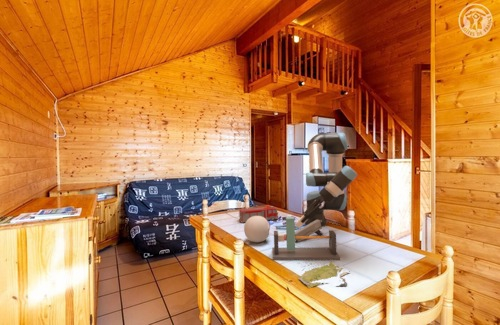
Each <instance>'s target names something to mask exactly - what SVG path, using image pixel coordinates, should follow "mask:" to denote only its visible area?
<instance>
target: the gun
mask: <svg viewBox="0 0 500 325" xmlns="http://www.w3.org/2000/svg"><path fill="white" fill-rule="evenodd" d="M324 227H325V226H324V220H323V219H320V220H318V219H317V220H315V221H313V222H312V223H310V224H308V225H305V226H302V227H300V228H298V229H297V230H295V236H312V235H313V234H316V236H324V235H323V234H324V233H323V232H321V230H322V229H323V228H324ZM303 240H304V239H295V243H300V242H302V241H303Z"/></svg>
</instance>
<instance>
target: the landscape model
mask: <svg viewBox="0 0 500 325" xmlns="http://www.w3.org/2000/svg"><path fill="white" fill-rule="evenodd" d="M343 270H344V267H339V266H338V265H336V264H335V263H334V262H332V261H330V262H329V264H326V265H322V266H318V267H314V268H312V269H309V270H307V271H304V272H303V274H301V275H300V276H298V280H300V281H301V282H302V283H303V284H304V285H306V287H307V289H311V287H312V288H314V287H315V286H320V285H324V284H326V282H325V281H323V282H315V281H320V280H321V281H322V280H328V279H331V278H335V277H336V278H337V277H338V273H340V274H339V279H341V280H342V282H343V283H341V282H340V284H339V285H336V287H347V286H348V282H346V278H343V277H342V276H345V275H347V274H350V273H351V270H349V269H348V270H347V271H348V272H346V271H345V272H342V271H343ZM341 272H342V273H341ZM309 287H310V288H309Z"/></svg>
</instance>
